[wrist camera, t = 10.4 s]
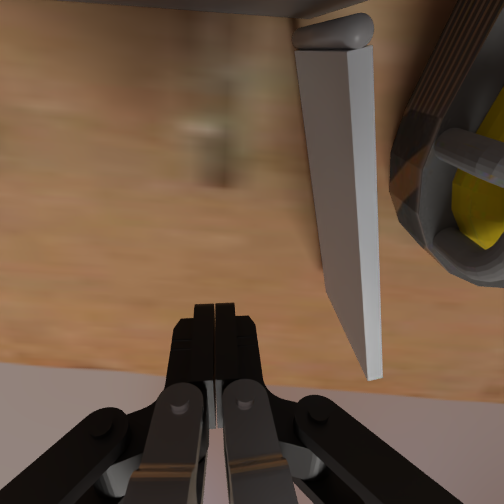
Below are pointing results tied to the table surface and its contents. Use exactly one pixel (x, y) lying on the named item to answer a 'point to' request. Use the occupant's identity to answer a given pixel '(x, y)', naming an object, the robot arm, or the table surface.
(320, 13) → the block
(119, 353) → the table surface
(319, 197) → the side door
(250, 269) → the table surface
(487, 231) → the cage light
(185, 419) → the robot arm
